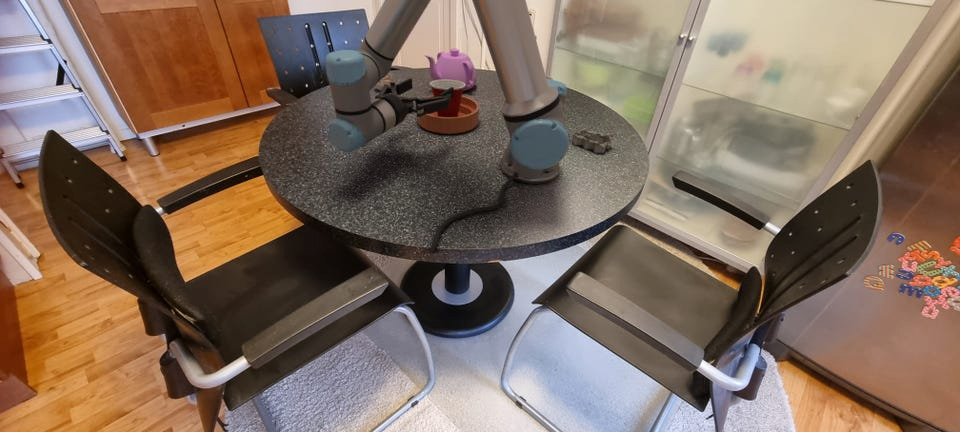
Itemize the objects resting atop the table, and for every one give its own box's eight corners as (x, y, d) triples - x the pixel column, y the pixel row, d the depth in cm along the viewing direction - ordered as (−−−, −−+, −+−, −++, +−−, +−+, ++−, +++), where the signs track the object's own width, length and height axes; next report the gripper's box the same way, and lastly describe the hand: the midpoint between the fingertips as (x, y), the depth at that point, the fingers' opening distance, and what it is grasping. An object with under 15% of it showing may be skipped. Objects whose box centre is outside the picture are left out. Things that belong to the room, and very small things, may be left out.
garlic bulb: (382, 94, 135) (380, 72, 130) (371, 90, 138) (368, 68, 133) (396, 89, 139) (394, 68, 134) (384, 85, 142) (382, 64, 137)
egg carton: (612, 147, 110) (616, 135, 108) (599, 155, 106) (603, 143, 103) (581, 135, 116) (584, 123, 113) (568, 142, 111) (571, 130, 109)
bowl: (468, 139, 110) (468, 122, 106) (407, 129, 113) (406, 112, 110) (485, 115, 125) (485, 99, 121) (431, 106, 128) (430, 90, 125)
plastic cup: (466, 114, 123) (467, 78, 115) (462, 128, 114) (463, 90, 107) (434, 112, 123) (433, 75, 116) (427, 125, 115) (426, 87, 107)
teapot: (410, 85, 144) (407, 47, 136) (454, 75, 156) (454, 40, 147) (445, 102, 132) (444, 62, 123) (489, 90, 144) (491, 52, 135)
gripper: (346, 117, 95) (396, 92, 110) (429, 139, 87) (470, 109, 102) (341, 88, 90) (393, 66, 106) (428, 109, 82) (471, 82, 97)
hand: (431, 87), depth 104 cm, fingers open, 13 cm apart
